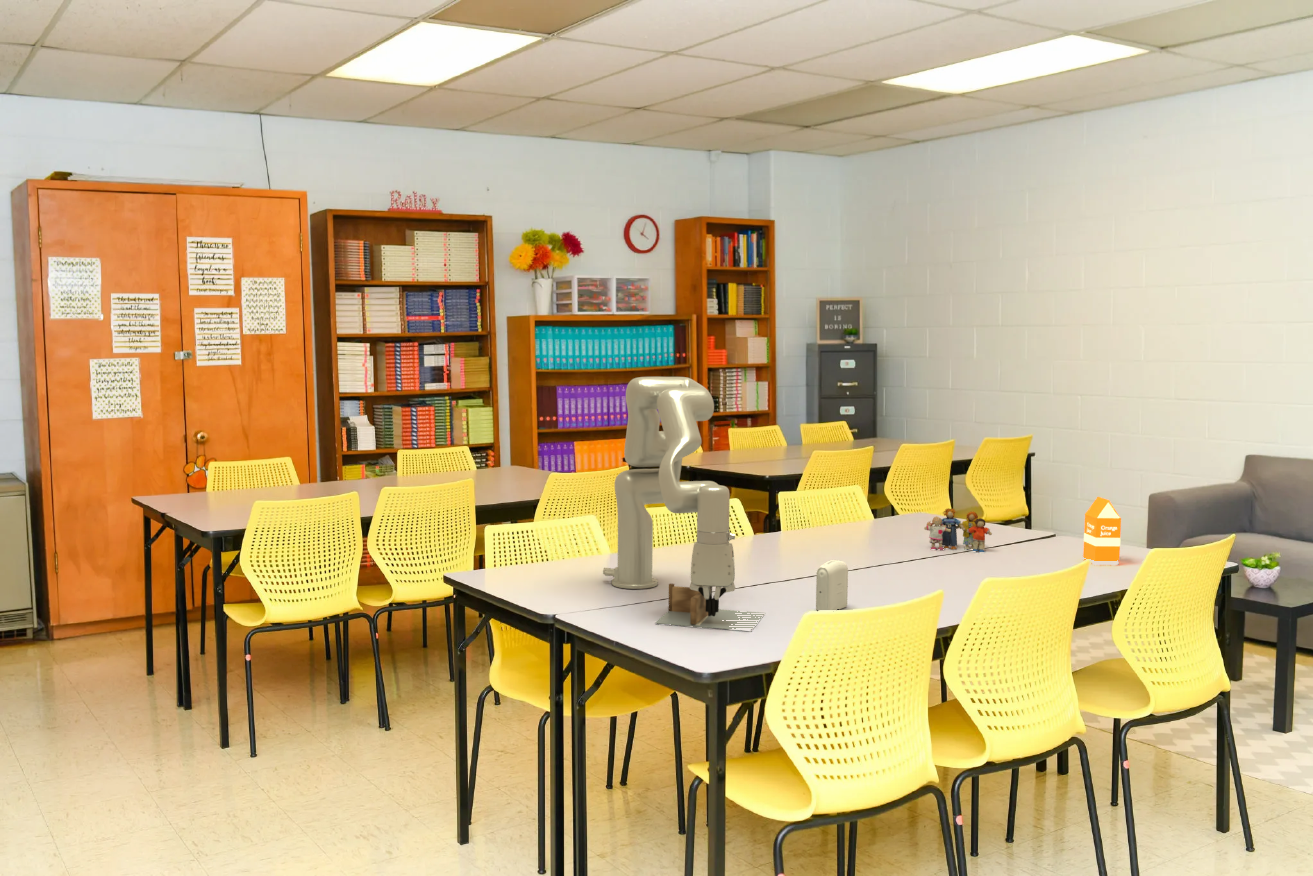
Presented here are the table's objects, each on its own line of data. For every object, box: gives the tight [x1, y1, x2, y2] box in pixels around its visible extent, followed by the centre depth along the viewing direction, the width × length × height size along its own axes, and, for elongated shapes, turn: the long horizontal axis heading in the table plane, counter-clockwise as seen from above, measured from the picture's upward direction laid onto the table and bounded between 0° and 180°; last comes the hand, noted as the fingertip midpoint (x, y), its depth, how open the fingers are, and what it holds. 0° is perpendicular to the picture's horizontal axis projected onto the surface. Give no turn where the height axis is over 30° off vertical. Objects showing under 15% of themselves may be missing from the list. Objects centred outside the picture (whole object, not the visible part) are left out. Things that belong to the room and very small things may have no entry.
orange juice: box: [1082, 496, 1122, 561], centre depth 345 cm, size 8×9×20 cm
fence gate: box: [690, 593, 708, 624], centre depth 268 cm, size 12×1×6 cm, turn 160°
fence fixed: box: [667, 583, 713, 613], centre depth 275 cm, size 11×1×7 cm, turn 74°
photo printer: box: [815, 559, 849, 611], centre depth 281 cm, size 10×4×12 cm, turn 140°
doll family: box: [923, 508, 993, 553], centre depth 367 cm, size 21×10×13 cm, turn 77°
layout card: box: [654, 608, 765, 630], centre depth 270 cm, size 23×18×1 cm
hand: (712, 614), depth 265 cm, fingers closed
